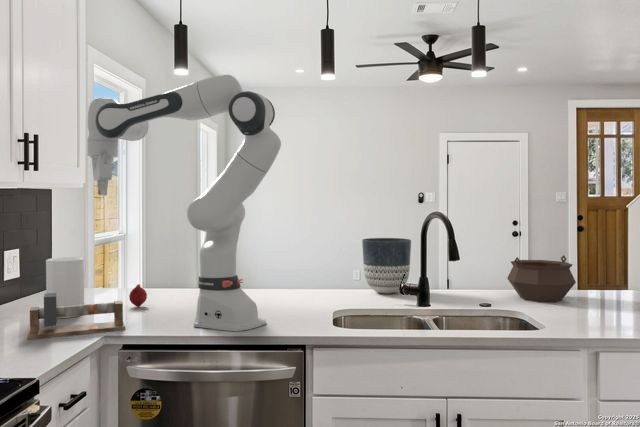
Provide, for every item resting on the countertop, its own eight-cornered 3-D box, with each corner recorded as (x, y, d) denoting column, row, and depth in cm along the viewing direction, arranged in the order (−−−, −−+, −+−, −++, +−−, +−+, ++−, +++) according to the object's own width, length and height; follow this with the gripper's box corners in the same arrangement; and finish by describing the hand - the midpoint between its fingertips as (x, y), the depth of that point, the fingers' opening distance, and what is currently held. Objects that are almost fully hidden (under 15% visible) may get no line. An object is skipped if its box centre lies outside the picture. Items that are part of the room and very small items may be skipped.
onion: (141, 308, 189) (141, 285, 189) (126, 308, 190) (125, 285, 190) (149, 305, 194) (149, 283, 194) (135, 305, 196) (134, 282, 195)
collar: (56, 321, 157) (56, 292, 157) (56, 325, 152) (55, 296, 151) (45, 322, 156) (44, 293, 156) (44, 326, 150) (43, 297, 150)
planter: (409, 289, 228) (409, 238, 228) (412, 297, 209) (412, 241, 208) (362, 288, 230) (362, 237, 230) (361, 296, 211) (361, 241, 210)
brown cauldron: (536, 307, 190) (536, 260, 190) (493, 295, 213) (494, 253, 213) (590, 302, 198) (591, 257, 197) (544, 292, 220) (544, 251, 220)
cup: (91, 312, 183) (90, 257, 182) (68, 319, 172) (67, 261, 172) (63, 310, 186) (62, 256, 185) (38, 317, 175) (37, 260, 174)
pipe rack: (122, 324, 166) (122, 299, 165) (125, 329, 158) (124, 304, 158) (29, 332, 155) (29, 306, 155) (27, 339, 148) (27, 311, 148)
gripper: (117, 149, 162) (116, 195, 163) (110, 153, 181) (109, 195, 181) (94, 148, 160) (94, 195, 160) (89, 152, 178) (89, 194, 178)
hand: (102, 195), depth 171 cm, fingers open, 8 cm apart
